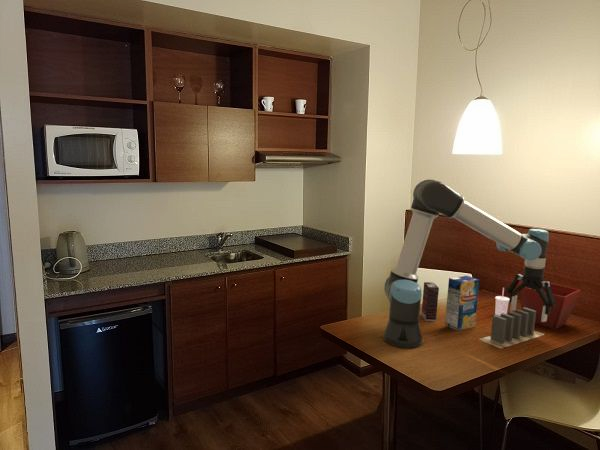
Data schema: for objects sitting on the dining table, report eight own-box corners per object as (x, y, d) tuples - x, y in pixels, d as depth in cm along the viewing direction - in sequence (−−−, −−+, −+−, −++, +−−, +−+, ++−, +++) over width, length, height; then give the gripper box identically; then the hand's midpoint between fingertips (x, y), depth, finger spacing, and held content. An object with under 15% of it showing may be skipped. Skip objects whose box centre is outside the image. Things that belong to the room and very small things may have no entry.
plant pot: (576, 325, 199) (581, 289, 196) (559, 334, 187) (564, 296, 184) (532, 313, 213) (536, 279, 211) (514, 321, 201) (518, 285, 198)
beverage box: (444, 327, 191) (448, 278, 188) (462, 323, 196) (466, 275, 193) (456, 332, 185) (461, 282, 182) (474, 328, 190) (479, 279, 187)
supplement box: (436, 321, 197) (439, 287, 195) (425, 321, 197) (428, 287, 195) (431, 315, 206) (433, 282, 203) (420, 314, 206) (423, 281, 203)
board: (500, 351, 169) (500, 348, 168) (478, 341, 177) (478, 338, 177) (544, 336, 184) (545, 334, 184) (522, 328, 192) (522, 326, 192)
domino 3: (517, 339, 178) (519, 315, 176) (505, 334, 182) (508, 311, 180) (519, 338, 179) (522, 315, 177) (508, 334, 183) (510, 311, 181)
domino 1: (501, 344, 173) (504, 319, 171) (490, 339, 177) (492, 315, 175) (504, 343, 173) (506, 319, 172) (493, 338, 178) (495, 315, 176)
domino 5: (531, 334, 183) (534, 311, 181) (520, 330, 187) (522, 307, 186) (533, 333, 184) (536, 311, 182) (522, 329, 188) (524, 307, 186)
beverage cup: (491, 316, 207) (494, 287, 205) (496, 313, 211) (499, 285, 209) (504, 319, 203) (507, 290, 200) (509, 316, 207) (512, 288, 205)
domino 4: (524, 337, 180) (526, 313, 179) (513, 332, 185) (515, 309, 183) (526, 336, 181) (529, 313, 180) (515, 332, 185) (517, 309, 184)
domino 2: (509, 341, 175) (512, 317, 174) (498, 337, 179) (500, 313, 178) (511, 340, 176) (514, 317, 175) (500, 336, 180) (503, 313, 179)
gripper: (570, 273, 173) (563, 324, 176) (511, 259, 194) (506, 305, 197) (560, 275, 169) (552, 327, 172) (501, 260, 190) (495, 307, 193)
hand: (527, 315), depth 184 cm, fingers open, 13 cm apart
